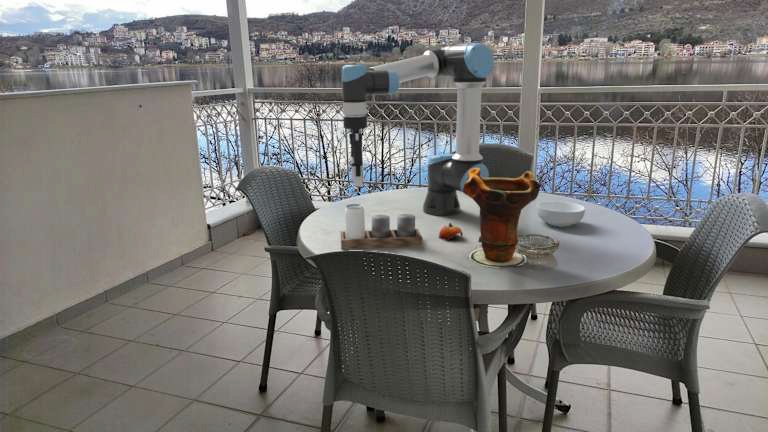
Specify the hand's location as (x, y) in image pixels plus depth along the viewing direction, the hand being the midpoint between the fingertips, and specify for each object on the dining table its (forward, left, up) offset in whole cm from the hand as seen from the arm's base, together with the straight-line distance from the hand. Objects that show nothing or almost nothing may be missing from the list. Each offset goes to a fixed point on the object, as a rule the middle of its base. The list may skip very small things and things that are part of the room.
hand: (357, 181), depth 173 cm
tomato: (-32, -1, -21) cm, 39 cm away
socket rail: (-8, +2, -21) cm, 22 cm away
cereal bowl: (-76, -12, -21) cm, 80 cm away
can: (+1, +2, -20) cm, 20 cm away
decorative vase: (-42, +20, -21) cm, 51 cm away
